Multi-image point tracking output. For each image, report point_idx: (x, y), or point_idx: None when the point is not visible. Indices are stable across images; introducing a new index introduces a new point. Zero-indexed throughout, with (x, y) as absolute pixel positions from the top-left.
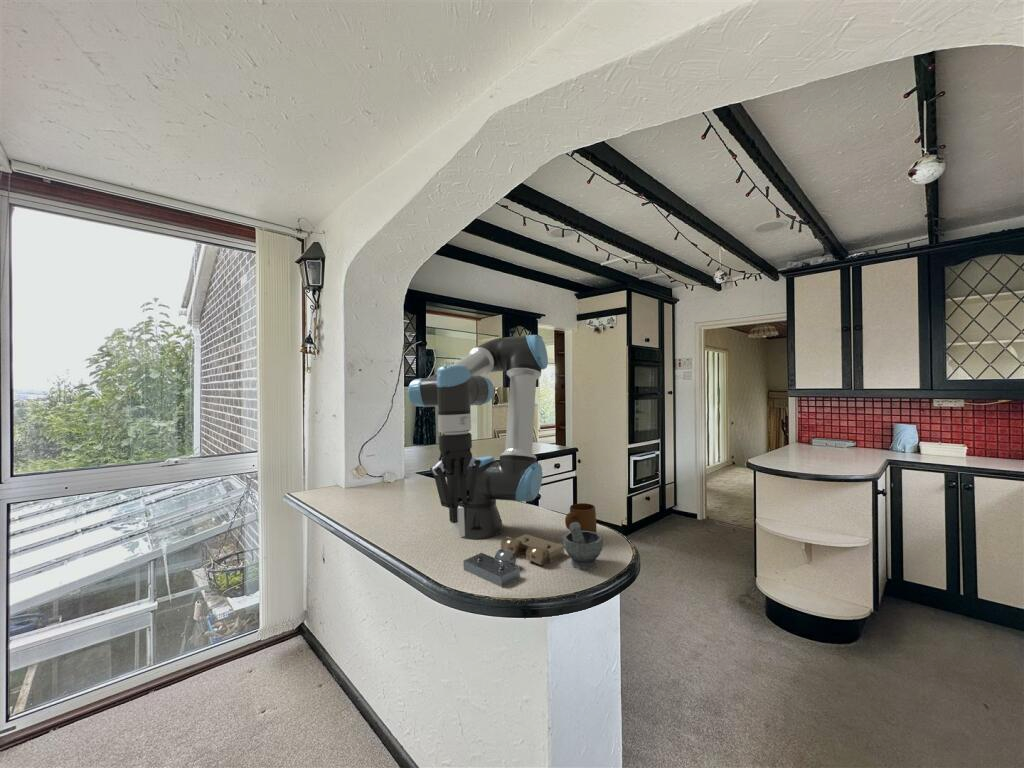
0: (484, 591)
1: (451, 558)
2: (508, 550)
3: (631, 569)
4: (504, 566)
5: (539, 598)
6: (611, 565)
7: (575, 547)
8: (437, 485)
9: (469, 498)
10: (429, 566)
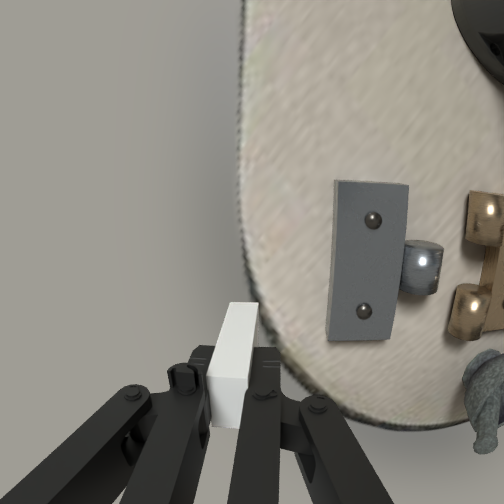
0: (286, 313)
1: (357, 88)
2: (468, 222)
3: None
4: (377, 308)
5: None
6: None
7: (469, 413)
8: (38, 478)
9: (296, 458)
10: (278, 81)
